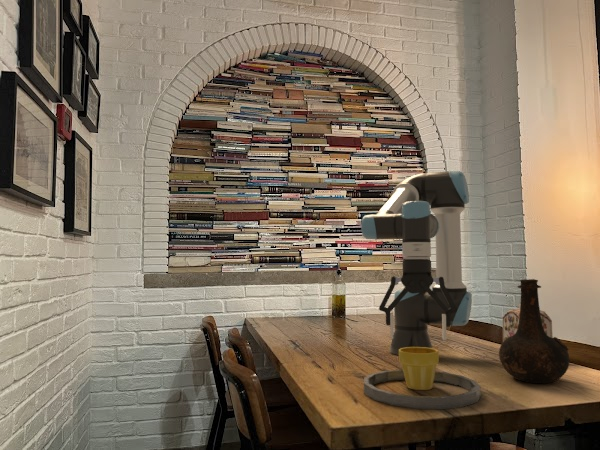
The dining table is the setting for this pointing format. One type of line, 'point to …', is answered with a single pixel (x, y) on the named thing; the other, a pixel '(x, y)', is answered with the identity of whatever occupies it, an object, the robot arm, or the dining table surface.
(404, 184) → the robot arm
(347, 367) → the dining table surface
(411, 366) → the plant pot
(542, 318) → the decorative jar
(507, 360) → the glass bottle
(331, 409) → the dining table surface
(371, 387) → the centring collar
